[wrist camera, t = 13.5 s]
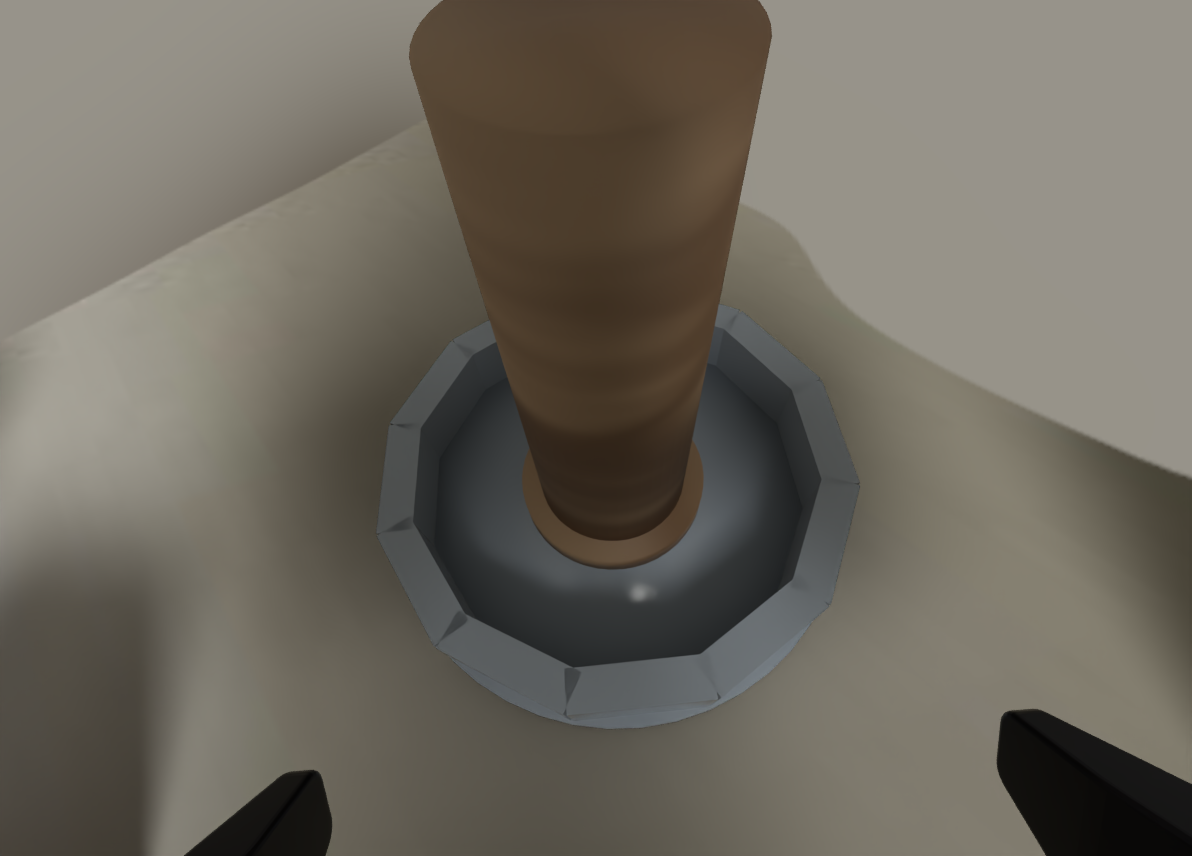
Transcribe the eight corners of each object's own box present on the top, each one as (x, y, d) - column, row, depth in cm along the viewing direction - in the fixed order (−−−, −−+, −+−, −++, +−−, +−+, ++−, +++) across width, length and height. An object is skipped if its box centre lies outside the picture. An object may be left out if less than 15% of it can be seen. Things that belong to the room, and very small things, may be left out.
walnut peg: (625, 609, 16) (619, 252, 5) (490, 494, 18) (267, 59, 7) (735, 472, 18) (910, 0, 7) (602, 383, 20) (571, -92, 9)
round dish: (760, 836, 14) (786, 850, 11) (312, 598, 17) (265, 573, 15) (873, 396, 20) (904, 350, 18) (528, 288, 23) (517, 239, 21)
